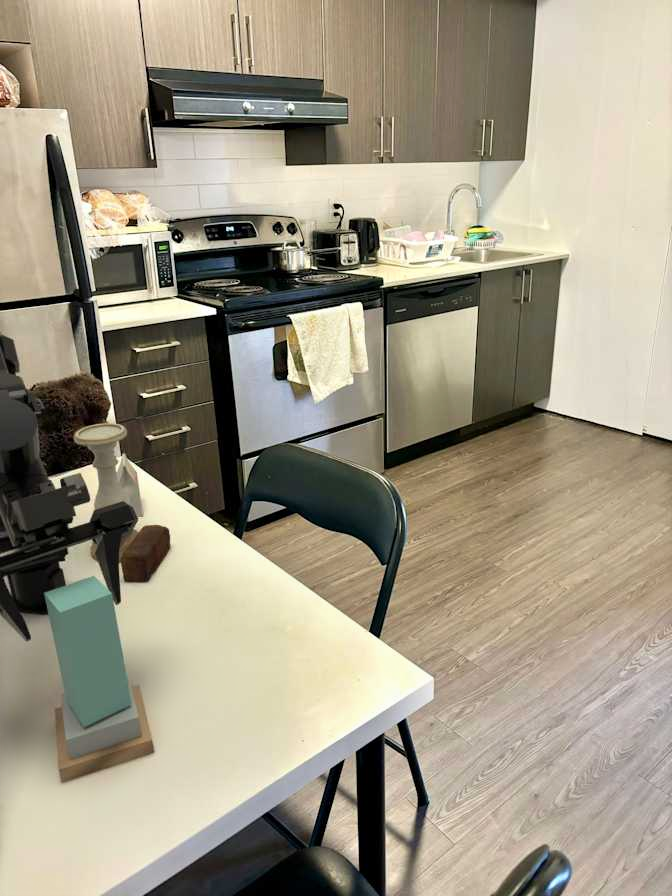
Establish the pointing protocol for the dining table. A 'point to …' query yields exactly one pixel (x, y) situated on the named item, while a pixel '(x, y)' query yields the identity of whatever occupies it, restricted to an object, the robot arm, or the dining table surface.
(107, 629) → the tall teal block
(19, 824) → the dining table surface
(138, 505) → the tea bag
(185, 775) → the dining table surface
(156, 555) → the brick
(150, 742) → the tower base block
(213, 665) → the dining table surface
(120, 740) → the tower middle block
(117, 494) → the candle holder
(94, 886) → the dining table surface
